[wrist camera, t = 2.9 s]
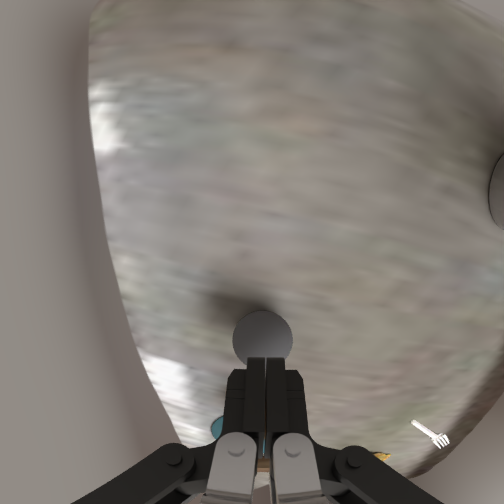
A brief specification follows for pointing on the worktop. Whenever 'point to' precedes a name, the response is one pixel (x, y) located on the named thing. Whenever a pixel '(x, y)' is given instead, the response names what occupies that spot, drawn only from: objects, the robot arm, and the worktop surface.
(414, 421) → the fork
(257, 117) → the worktop surface
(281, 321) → the dark grey ball
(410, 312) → the worktop surface
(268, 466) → the wall
